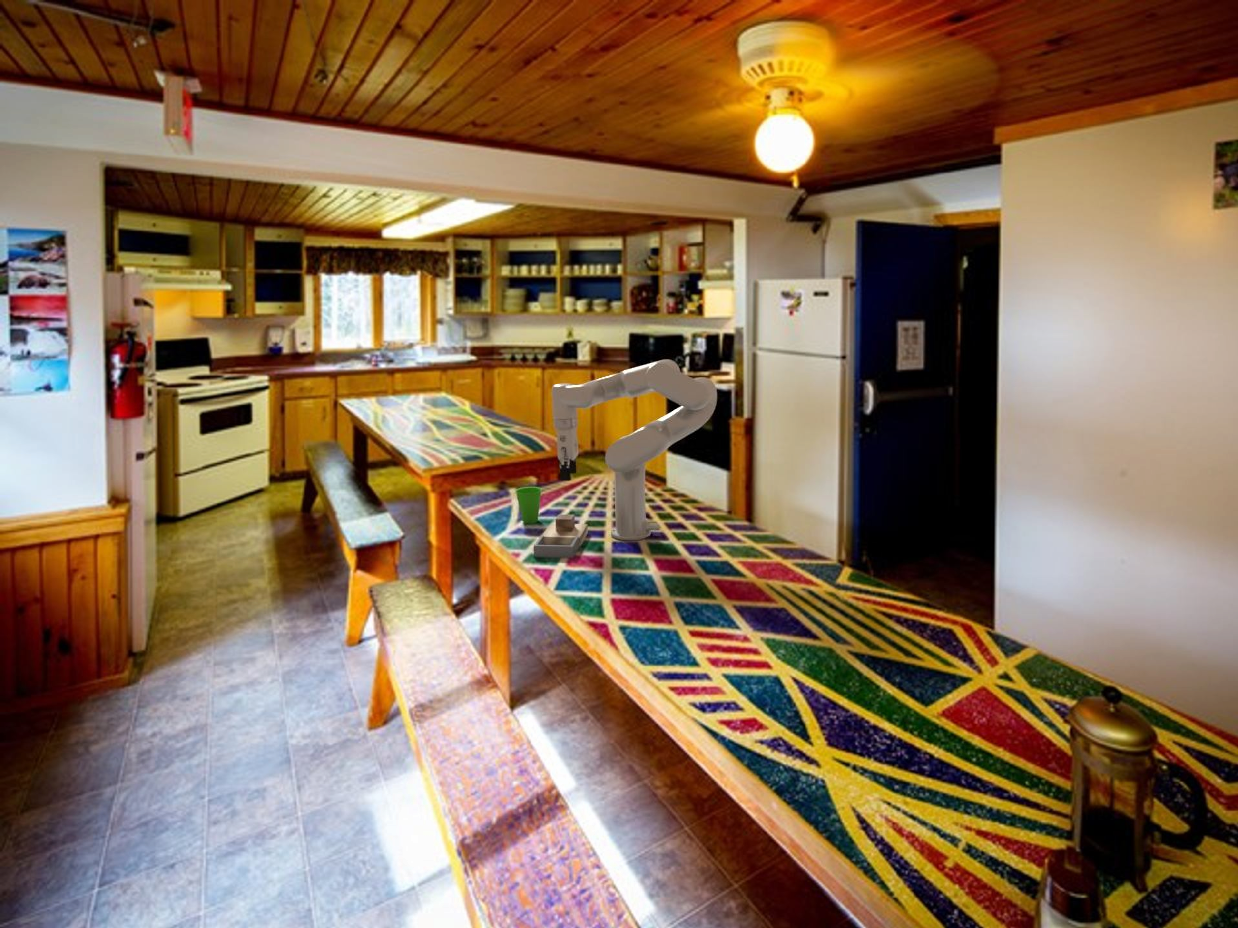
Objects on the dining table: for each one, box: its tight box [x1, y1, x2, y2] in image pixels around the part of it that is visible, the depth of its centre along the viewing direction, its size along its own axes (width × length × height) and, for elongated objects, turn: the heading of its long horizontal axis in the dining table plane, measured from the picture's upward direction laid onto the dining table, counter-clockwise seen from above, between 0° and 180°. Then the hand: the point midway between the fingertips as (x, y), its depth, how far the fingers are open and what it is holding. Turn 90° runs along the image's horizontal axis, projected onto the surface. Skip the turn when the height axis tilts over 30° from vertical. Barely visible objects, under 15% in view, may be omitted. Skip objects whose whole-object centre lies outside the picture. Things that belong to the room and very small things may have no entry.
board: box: [542, 523, 589, 548], centre depth 224 cm, size 12×13×3 cm
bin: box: [533, 534, 580, 559], centre depth 213 cm, size 12×9×4 cm
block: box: [554, 514, 576, 532], centre depth 225 cm, size 5×5×4 cm
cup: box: [514, 486, 543, 524], centre depth 243 cm, size 9×9×11 cm
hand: (568, 476), depth 229 cm, fingers open, 8 cm apart
